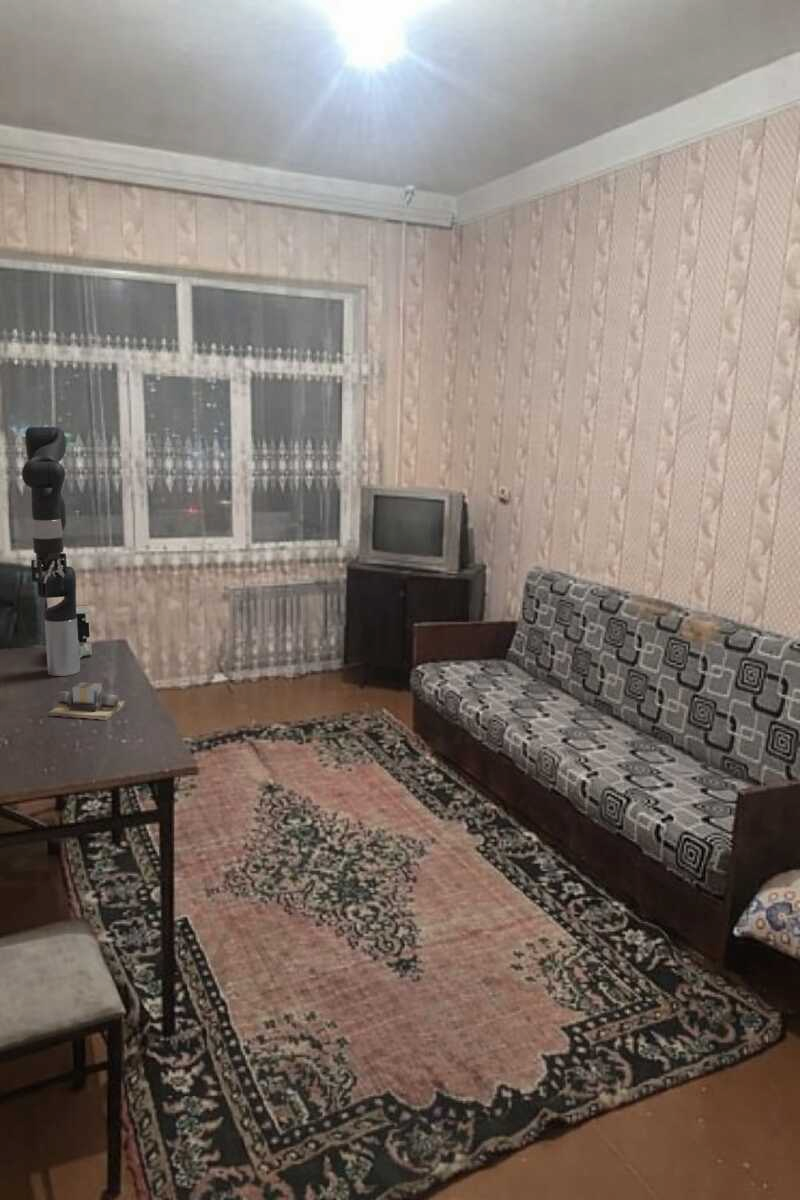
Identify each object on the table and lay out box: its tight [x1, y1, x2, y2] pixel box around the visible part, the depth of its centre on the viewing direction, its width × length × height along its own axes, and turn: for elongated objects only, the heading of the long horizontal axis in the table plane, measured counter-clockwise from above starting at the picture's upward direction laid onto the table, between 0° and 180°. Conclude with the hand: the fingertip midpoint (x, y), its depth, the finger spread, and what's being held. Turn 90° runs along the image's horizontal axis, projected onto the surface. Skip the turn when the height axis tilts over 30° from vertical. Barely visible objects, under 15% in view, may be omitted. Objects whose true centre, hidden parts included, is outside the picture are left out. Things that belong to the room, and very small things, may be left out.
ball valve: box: [76, 604, 93, 659], centre depth 276 cm, size 18×8×18 cm, turn 18°
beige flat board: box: [48, 689, 127, 721], centre depth 227 cm, size 12×16×6 cm
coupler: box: [71, 681, 103, 709], centre depth 227 cm, size 6×5×6 cm
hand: (51, 593), depth 232 cm, fingers open, 8 cm apart
